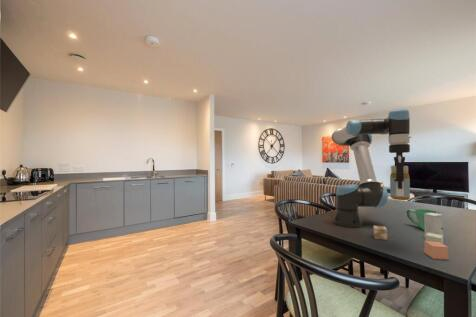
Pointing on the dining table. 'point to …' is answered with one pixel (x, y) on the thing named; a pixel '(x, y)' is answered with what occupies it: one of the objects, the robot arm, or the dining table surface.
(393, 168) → the bottle
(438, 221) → the skincare box
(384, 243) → the dining table surface
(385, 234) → the maple cube
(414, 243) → the dining table surface
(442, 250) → the terracotta cube
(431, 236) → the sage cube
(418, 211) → the mug
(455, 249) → the dining table surface
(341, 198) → the robot arm
